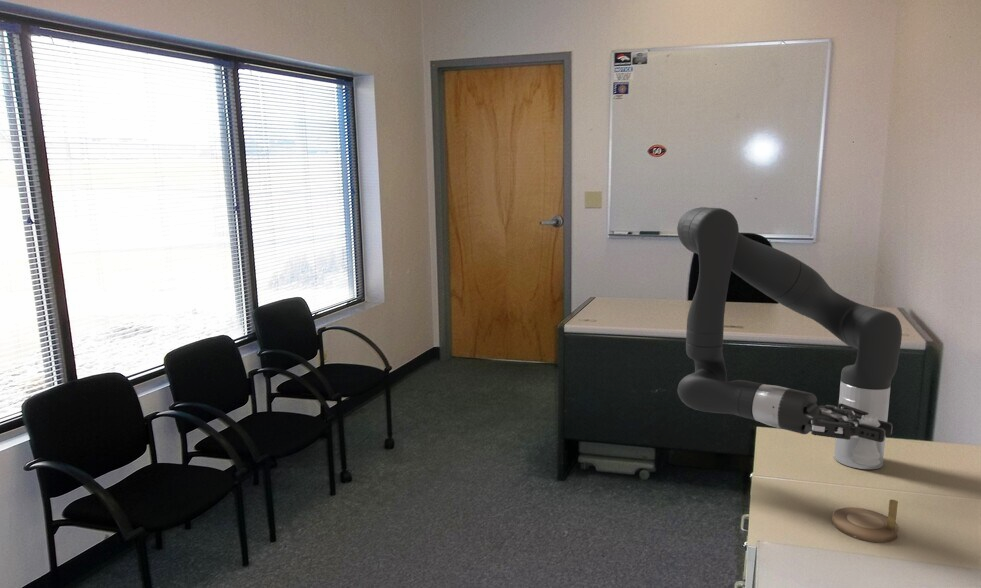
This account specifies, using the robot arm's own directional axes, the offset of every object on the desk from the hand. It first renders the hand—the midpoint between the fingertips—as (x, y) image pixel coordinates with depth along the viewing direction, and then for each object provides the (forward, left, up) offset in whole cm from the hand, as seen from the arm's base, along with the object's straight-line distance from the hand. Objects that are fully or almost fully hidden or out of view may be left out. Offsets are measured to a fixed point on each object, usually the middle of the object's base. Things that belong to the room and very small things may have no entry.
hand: (887, 432), depth 115 cm
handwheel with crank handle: (0, -2, -18) cm, 18 cm away
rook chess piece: (0, -3, -6) cm, 7 cm away
